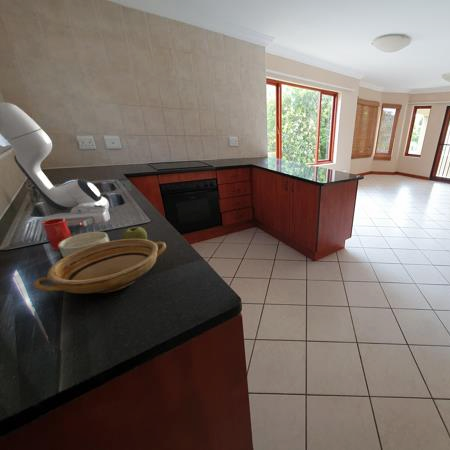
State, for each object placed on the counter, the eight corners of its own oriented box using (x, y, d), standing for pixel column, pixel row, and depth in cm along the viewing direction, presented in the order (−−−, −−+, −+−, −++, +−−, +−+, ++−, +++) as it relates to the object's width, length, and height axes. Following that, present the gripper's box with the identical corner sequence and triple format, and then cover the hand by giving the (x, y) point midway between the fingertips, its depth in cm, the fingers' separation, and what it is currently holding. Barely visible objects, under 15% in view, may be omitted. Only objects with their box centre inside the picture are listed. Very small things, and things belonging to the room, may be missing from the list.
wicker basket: (51, 333, 51) (35, 304, 48) (39, 287, 66) (27, 262, 63) (185, 274, 72) (181, 251, 69) (154, 249, 87) (149, 229, 83)
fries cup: (48, 251, 84) (36, 225, 80) (59, 243, 90) (48, 219, 86) (69, 249, 86) (58, 223, 82) (78, 241, 91) (68, 217, 87)
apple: (124, 253, 84) (118, 235, 81) (127, 244, 90) (122, 226, 87) (148, 248, 87) (144, 231, 84) (150, 240, 93) (145, 223, 91)
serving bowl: (53, 262, 77) (48, 250, 76) (75, 244, 89) (71, 233, 87) (101, 257, 81) (97, 245, 79) (116, 240, 93) (113, 230, 91)
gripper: (52, 209, 99) (29, 220, 87) (110, 205, 105) (96, 215, 92) (58, 223, 101) (36, 236, 89) (114, 218, 107) (101, 230, 95)
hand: (67, 225), depth 91 cm, fingers open, 8 cm apart
